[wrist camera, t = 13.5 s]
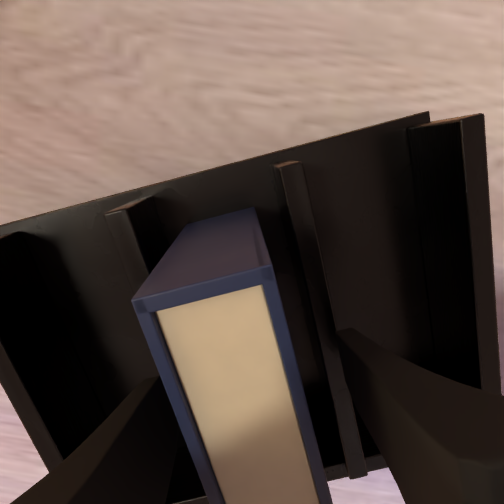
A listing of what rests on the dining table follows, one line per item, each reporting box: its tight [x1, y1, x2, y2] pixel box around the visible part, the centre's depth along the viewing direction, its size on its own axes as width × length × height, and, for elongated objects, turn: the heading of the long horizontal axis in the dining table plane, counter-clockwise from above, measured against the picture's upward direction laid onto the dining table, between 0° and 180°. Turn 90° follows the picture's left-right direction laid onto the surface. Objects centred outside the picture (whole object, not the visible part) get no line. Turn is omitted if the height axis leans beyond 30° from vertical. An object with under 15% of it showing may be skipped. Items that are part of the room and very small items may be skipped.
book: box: [131, 207, 333, 504], centre depth 12 cm, size 10×3×8 cm, turn 14°
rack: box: [0, 111, 502, 504], centre depth 15 cm, size 14×19×4 cm
